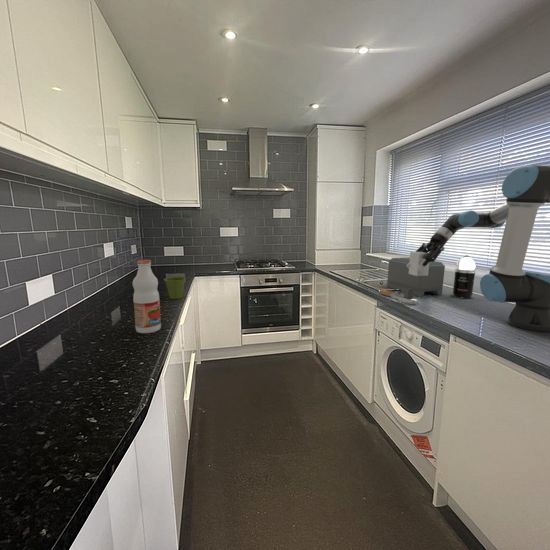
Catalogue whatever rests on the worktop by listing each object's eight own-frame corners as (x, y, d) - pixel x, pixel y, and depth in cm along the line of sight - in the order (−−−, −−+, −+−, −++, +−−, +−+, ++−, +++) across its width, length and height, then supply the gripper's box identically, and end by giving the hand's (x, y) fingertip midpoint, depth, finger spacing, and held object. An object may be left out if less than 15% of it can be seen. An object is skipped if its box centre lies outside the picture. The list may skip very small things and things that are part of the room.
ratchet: (422, 304, 159) (423, 290, 157) (406, 305, 156) (407, 291, 155) (390, 293, 184) (391, 281, 183) (376, 294, 182) (377, 282, 180)
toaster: (404, 284, 212) (406, 256, 209) (442, 295, 181) (446, 262, 177) (382, 285, 207) (384, 257, 203) (418, 297, 175) (421, 263, 172)
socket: (428, 275, 156) (430, 253, 154) (417, 276, 155) (419, 253, 153) (419, 273, 163) (421, 251, 161) (408, 273, 161) (410, 252, 159)
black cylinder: (453, 293, 184) (457, 254, 180) (472, 296, 178) (477, 255, 174) (451, 297, 176) (456, 255, 171) (471, 299, 170) (477, 256, 165)
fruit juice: (141, 325, 122) (136, 258, 117) (164, 325, 122) (160, 258, 118) (131, 333, 113) (125, 261, 108) (156, 333, 113) (151, 261, 108)
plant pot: (170, 295, 174) (169, 276, 173) (189, 295, 173) (189, 277, 172) (161, 300, 163) (160, 280, 161) (182, 300, 162) (181, 280, 160)
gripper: (460, 243, 150) (430, 276, 149) (430, 241, 169) (404, 270, 168) (453, 233, 148) (423, 266, 147) (423, 231, 167) (397, 261, 166)
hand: (413, 268), depth 157 cm, fingers closed on socket, 7 cm apart
